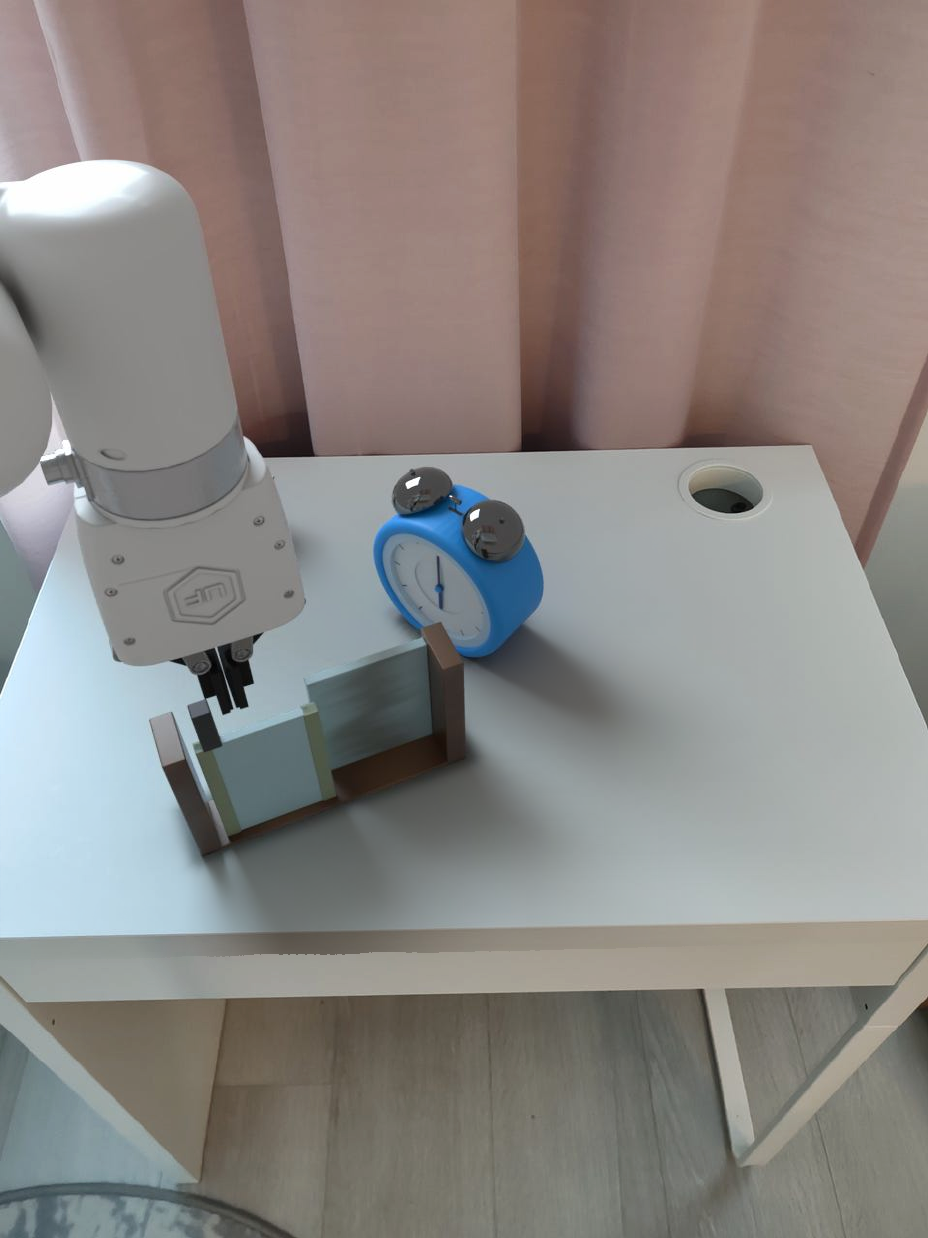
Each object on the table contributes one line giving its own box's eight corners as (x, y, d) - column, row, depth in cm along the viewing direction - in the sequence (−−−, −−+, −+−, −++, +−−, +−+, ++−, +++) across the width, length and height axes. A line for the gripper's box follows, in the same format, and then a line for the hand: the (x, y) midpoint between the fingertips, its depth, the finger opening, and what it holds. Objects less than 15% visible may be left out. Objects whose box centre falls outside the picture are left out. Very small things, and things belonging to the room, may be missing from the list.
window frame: (205, 865, 70) (161, 767, 60) (192, 819, 72) (148, 718, 63) (466, 766, 75) (464, 662, 65) (445, 726, 77) (440, 620, 68)
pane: (228, 838, 69) (182, 722, 59) (224, 824, 70) (178, 707, 60) (337, 798, 71) (312, 678, 61) (332, 785, 72) (306, 664, 62)
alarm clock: (377, 612, 85) (361, 478, 74) (423, 571, 88) (415, 436, 77) (498, 687, 80) (501, 555, 68) (543, 640, 83) (553, 507, 72)
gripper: (2, 547, 42) (114, 785, 55) (342, 458, 46) (368, 700, 59) (-16, 443, 46) (91, 687, 60) (294, 371, 50) (328, 614, 64)
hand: (229, 693), depth 60 cm, fingers closed
